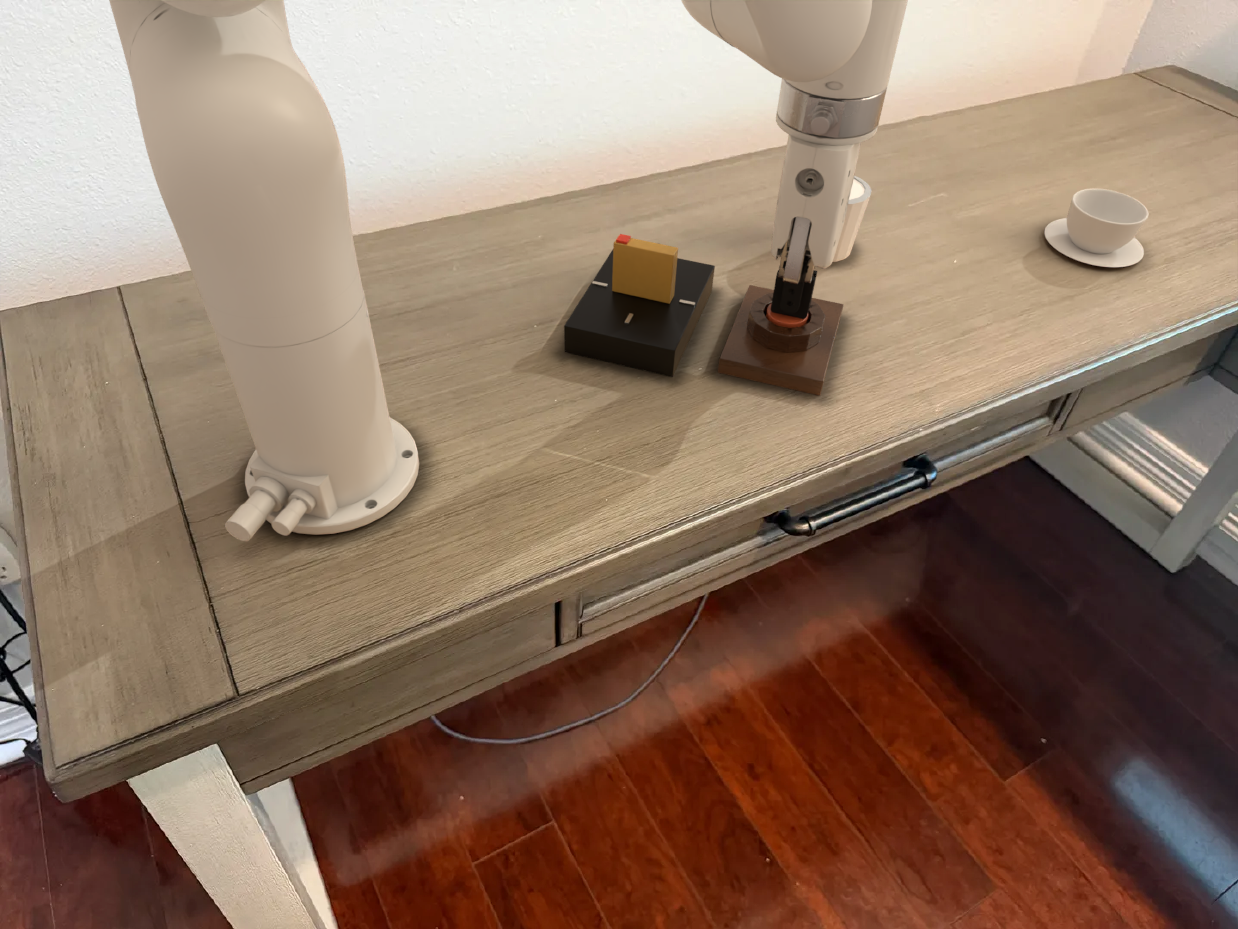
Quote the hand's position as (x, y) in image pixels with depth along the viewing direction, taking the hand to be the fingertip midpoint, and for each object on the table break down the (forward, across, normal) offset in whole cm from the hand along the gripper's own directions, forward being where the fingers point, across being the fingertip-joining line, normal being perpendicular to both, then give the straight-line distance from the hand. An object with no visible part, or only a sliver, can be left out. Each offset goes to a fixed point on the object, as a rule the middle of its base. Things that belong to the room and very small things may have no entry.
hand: (789, 310), depth 78 cm
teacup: (+4, +29, -28) cm, 40 cm away
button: (+2, 0, 0) cm, 2 cm away
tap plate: (+4, -1, +13) cm, 14 cm away
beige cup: (+4, +18, -1) cm, 18 cm away
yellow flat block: (+1, -1, +13) cm, 13 cm away
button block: (+4, 0, 0) cm, 4 cm away
